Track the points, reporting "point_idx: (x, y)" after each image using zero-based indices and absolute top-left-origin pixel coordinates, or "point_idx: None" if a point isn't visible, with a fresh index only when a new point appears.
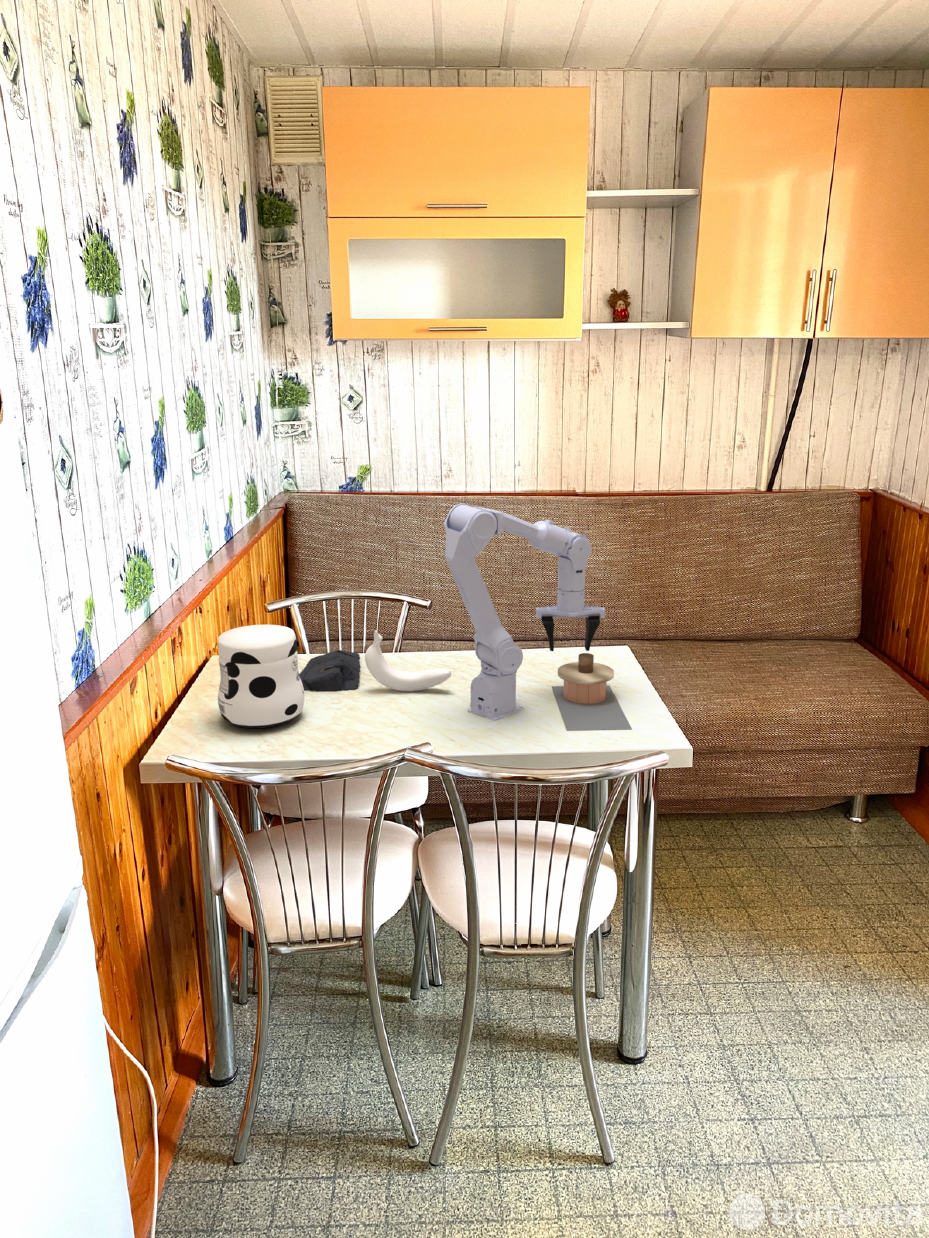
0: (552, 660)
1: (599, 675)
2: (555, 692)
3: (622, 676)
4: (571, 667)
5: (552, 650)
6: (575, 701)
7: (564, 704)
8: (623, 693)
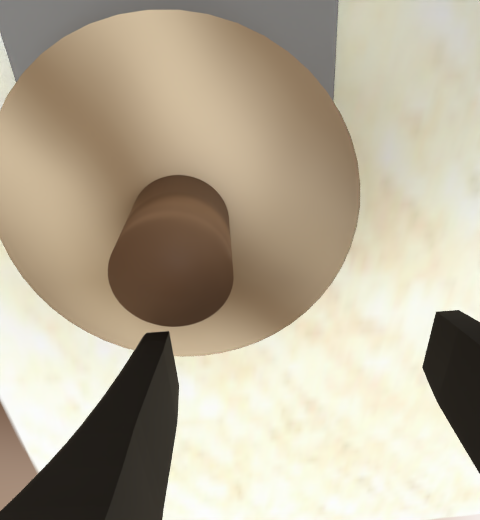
0: (280, 478)
1: (83, 136)
2: None
3: (45, 386)
4: (264, 275)
5: (449, 313)
6: None
7: (300, 48)
8: None
